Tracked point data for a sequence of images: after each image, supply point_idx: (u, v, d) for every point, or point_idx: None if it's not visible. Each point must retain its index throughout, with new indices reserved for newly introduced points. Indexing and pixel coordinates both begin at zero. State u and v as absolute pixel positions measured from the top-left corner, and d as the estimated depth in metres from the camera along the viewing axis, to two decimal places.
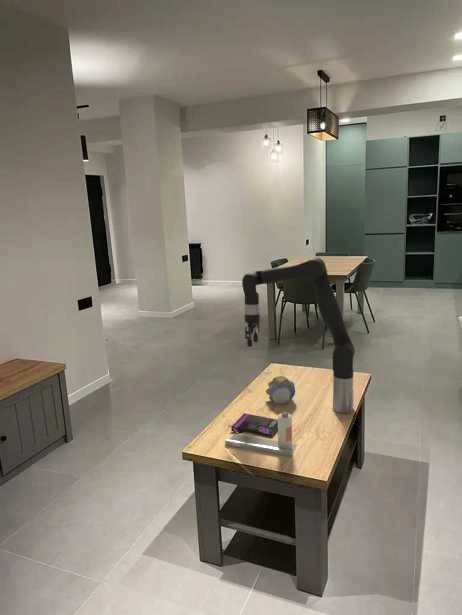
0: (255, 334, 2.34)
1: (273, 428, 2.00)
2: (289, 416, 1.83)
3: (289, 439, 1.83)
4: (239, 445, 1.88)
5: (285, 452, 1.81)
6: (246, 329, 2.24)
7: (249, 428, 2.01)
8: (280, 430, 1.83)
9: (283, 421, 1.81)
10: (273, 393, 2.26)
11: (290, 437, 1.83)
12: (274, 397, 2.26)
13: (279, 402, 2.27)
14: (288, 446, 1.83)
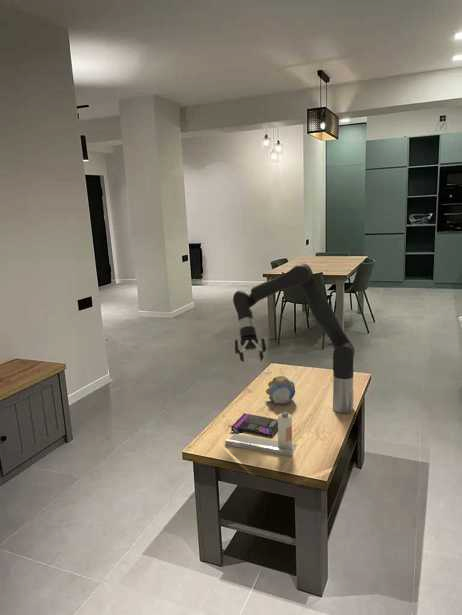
0: (259, 352, 2.12)
1: (273, 428, 2.00)
2: (289, 416, 1.83)
3: (289, 439, 1.83)
4: (239, 445, 1.88)
5: (285, 452, 1.81)
6: (234, 343, 2.13)
7: (249, 428, 2.01)
8: (280, 430, 1.83)
9: (283, 421, 1.81)
10: (273, 393, 2.26)
11: (290, 437, 1.83)
12: (274, 397, 2.26)
13: (279, 402, 2.27)
14: (288, 446, 1.83)
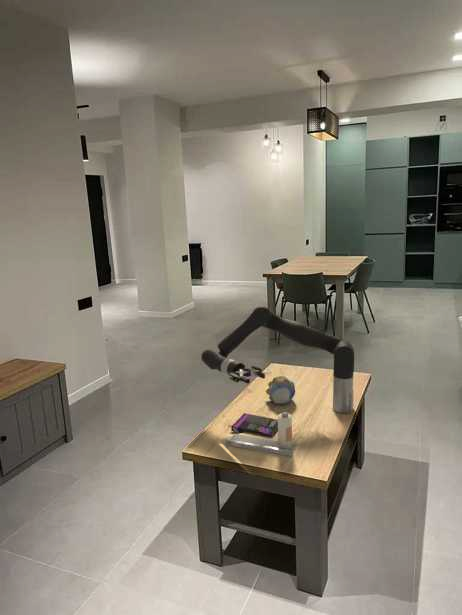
0: (257, 373, 1.99)
1: (273, 428, 2.00)
2: (289, 416, 1.83)
3: (289, 439, 1.83)
4: (239, 445, 1.88)
5: (285, 452, 1.81)
6: (230, 377, 1.97)
7: (249, 428, 2.01)
8: (280, 430, 1.83)
9: (283, 421, 1.81)
10: (273, 393, 2.26)
11: (290, 437, 1.83)
12: (274, 397, 2.26)
13: (279, 402, 2.27)
14: (288, 446, 1.83)
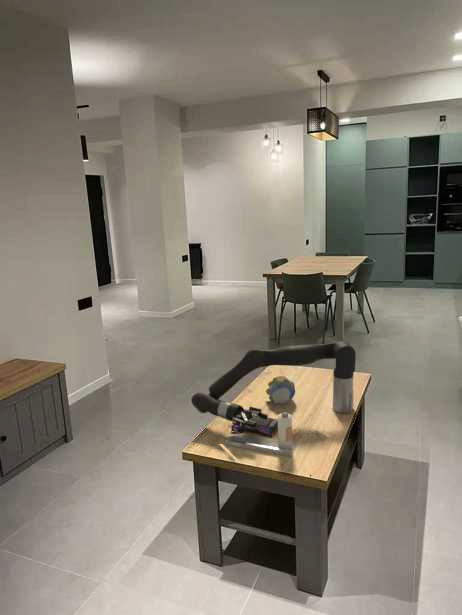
0: (259, 415, 1.97)
1: (273, 428, 2.00)
2: (289, 416, 1.83)
3: (289, 439, 1.83)
4: (239, 445, 1.88)
5: (285, 452, 1.81)
6: (233, 422, 1.91)
7: (249, 428, 2.01)
8: (280, 430, 1.83)
9: (283, 421, 1.81)
10: (273, 393, 2.26)
11: (290, 437, 1.83)
12: (274, 397, 2.26)
13: (279, 402, 2.27)
14: (288, 446, 1.83)
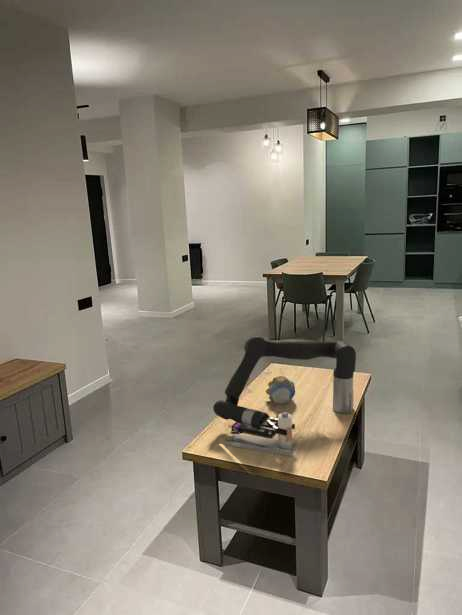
0: None
1: None
2: (289, 416, 1.83)
3: (289, 439, 1.83)
4: (239, 445, 1.88)
5: (285, 452, 1.81)
6: (262, 431, 1.83)
7: (249, 428, 2.01)
8: None
9: (283, 421, 1.81)
10: (273, 393, 2.26)
11: (290, 437, 1.83)
12: (274, 397, 2.26)
13: (279, 402, 2.27)
14: (288, 446, 1.83)
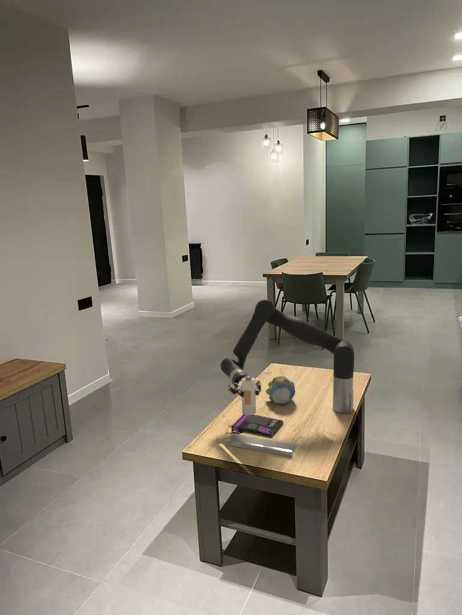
0: None
1: (272, 427, 2.01)
2: (251, 380, 1.83)
3: (247, 403, 1.83)
4: (239, 445, 1.88)
5: (285, 452, 1.81)
6: (229, 388, 1.90)
7: (249, 428, 2.01)
8: None
9: (242, 382, 1.83)
10: (273, 393, 2.26)
11: (249, 401, 1.83)
12: (274, 397, 2.26)
13: (279, 402, 2.27)
14: (247, 409, 1.84)
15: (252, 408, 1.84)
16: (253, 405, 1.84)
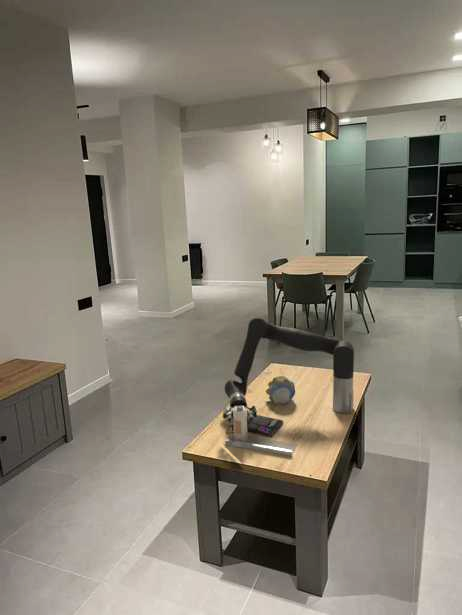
0: None
1: (272, 427, 2.01)
2: (242, 411, 1.89)
3: (238, 432, 1.90)
4: (239, 445, 1.88)
5: (285, 452, 1.81)
6: None
7: (249, 427, 2.01)
8: None
9: (233, 412, 1.89)
10: (273, 393, 2.26)
11: (239, 431, 1.89)
12: (274, 397, 2.26)
13: (279, 402, 2.27)
14: (238, 438, 1.91)
15: (243, 437, 1.90)
16: (244, 434, 1.90)
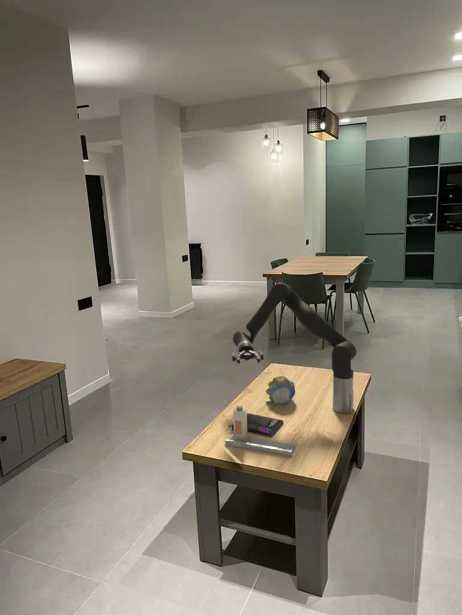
0: (257, 358, 2.08)
1: (272, 427, 2.01)
2: (242, 411, 1.89)
3: (238, 432, 1.90)
4: (239, 445, 1.88)
5: (285, 452, 1.81)
6: None
7: (249, 427, 2.01)
8: None
9: (233, 412, 1.89)
10: (273, 393, 2.26)
11: (239, 431, 1.89)
12: (274, 397, 2.26)
13: (279, 402, 2.27)
14: (238, 438, 1.91)
15: (243, 437, 1.90)
16: (244, 434, 1.90)
